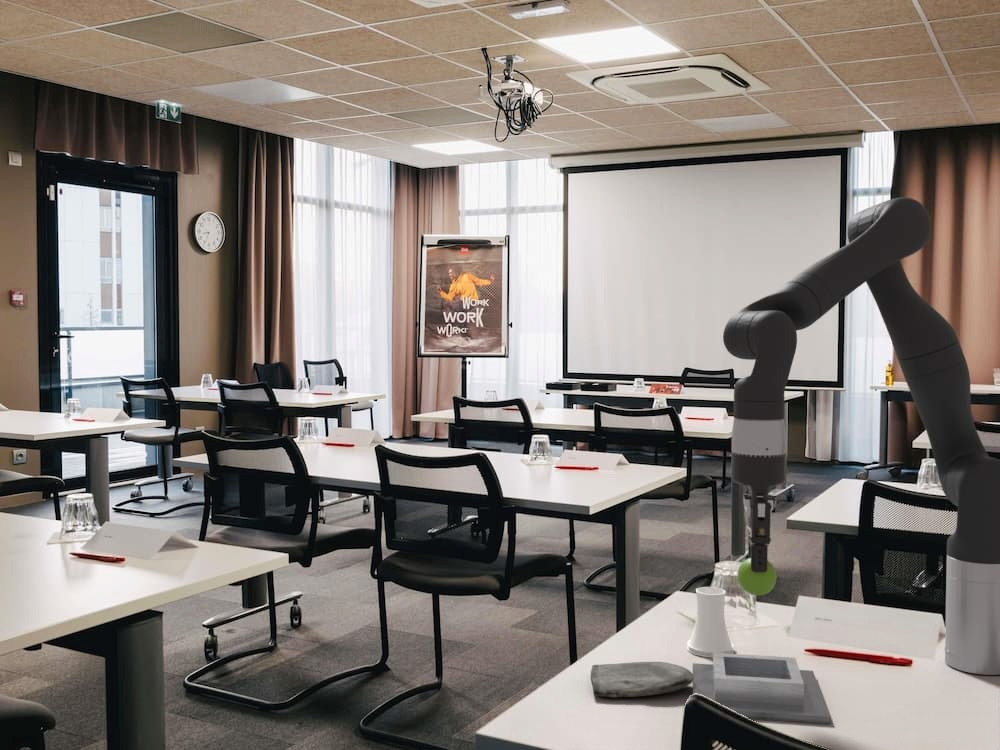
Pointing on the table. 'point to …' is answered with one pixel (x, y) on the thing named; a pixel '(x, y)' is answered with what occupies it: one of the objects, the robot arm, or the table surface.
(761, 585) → the snail figurine
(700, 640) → the white flared stand
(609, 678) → the stone
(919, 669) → the table surface
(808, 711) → the collar block
